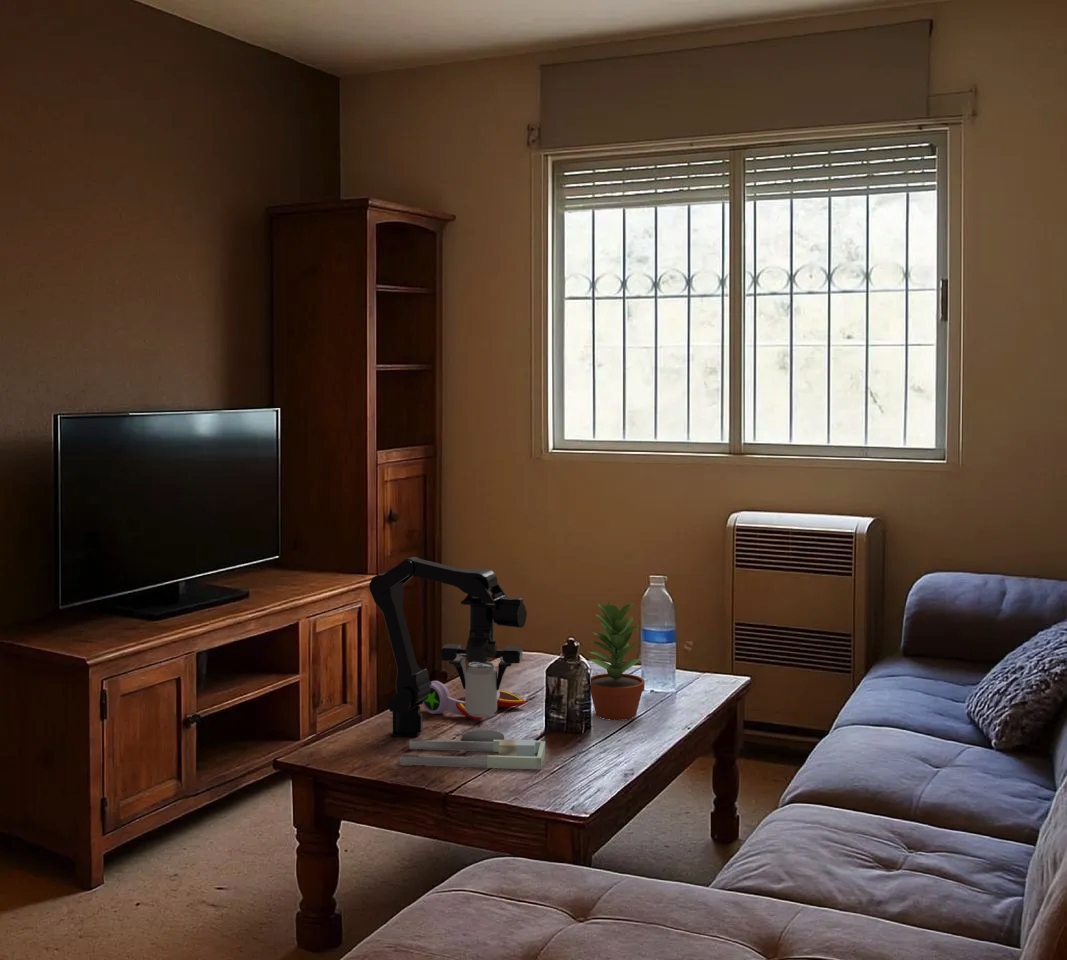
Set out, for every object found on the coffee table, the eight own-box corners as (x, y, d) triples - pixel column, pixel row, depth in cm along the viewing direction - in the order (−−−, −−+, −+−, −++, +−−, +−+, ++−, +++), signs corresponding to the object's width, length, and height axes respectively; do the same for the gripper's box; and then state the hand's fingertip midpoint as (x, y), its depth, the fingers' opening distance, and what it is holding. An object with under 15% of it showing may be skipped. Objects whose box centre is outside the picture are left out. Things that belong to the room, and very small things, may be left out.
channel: (400, 765, 263) (399, 756, 263) (410, 747, 275) (410, 739, 275) (487, 767, 261) (487, 758, 261) (493, 750, 273) (493, 741, 273)
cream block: (498, 762, 265) (498, 745, 265) (500, 756, 269) (499, 739, 268) (516, 762, 265) (516, 745, 264) (517, 757, 269) (517, 739, 268)
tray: (487, 767, 261) (487, 756, 261) (493, 750, 273) (493, 739, 273) (541, 769, 260) (541, 758, 260) (545, 751, 272) (545, 741, 272)
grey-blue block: (516, 762, 265) (516, 745, 265) (517, 756, 269) (517, 739, 268) (534, 762, 265) (534, 745, 264) (535, 757, 269) (535, 739, 268)
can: (471, 719, 273) (471, 668, 272) (460, 710, 280) (460, 661, 279) (501, 716, 276) (502, 665, 275) (490, 707, 283) (490, 658, 282)
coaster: (459, 745, 277) (459, 742, 277) (465, 731, 287) (465, 729, 287) (501, 746, 276) (501, 743, 276) (506, 733, 286) (506, 730, 286)
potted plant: (648, 707, 307) (649, 593, 304) (640, 724, 292) (641, 605, 290) (591, 704, 310) (592, 591, 308) (581, 720, 296) (581, 602, 293)
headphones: (468, 666, 319) (525, 669, 307) (472, 702, 319) (529, 706, 307) (417, 681, 304) (475, 685, 291) (421, 719, 304) (479, 724, 291)
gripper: (435, 630, 269) (435, 697, 271) (516, 633, 267) (516, 700, 269) (444, 619, 280) (444, 684, 282) (522, 622, 278) (522, 687, 280)
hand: (481, 689), depth 278 cm, fingers closed on can, 7 cm apart
